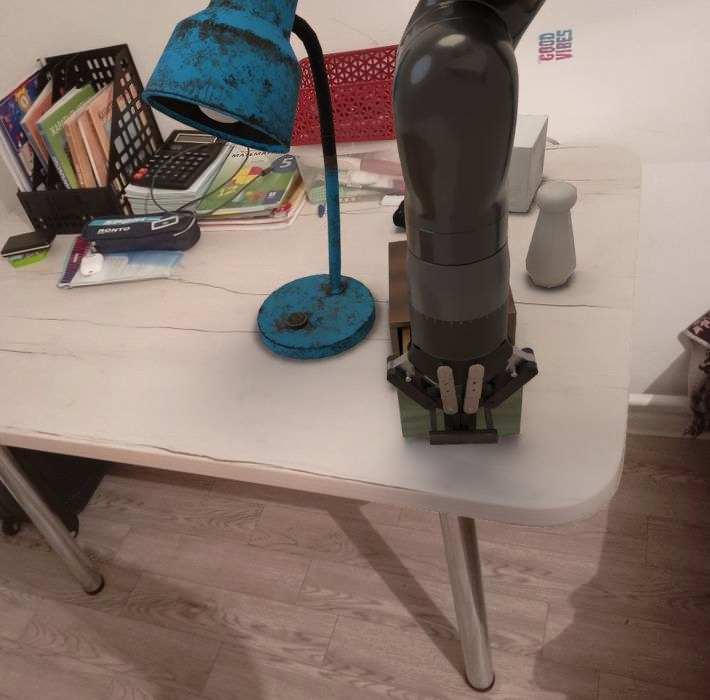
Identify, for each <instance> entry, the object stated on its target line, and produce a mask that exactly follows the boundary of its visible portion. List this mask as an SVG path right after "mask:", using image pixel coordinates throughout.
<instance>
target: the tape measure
mask: <svg viewBox="0 0 710 700" xmlns="http://www.w3.org/2000/svg"><path fill="white" fill-rule="evenodd" d="M392 223H393V225H394V226H395V227H398V228H402V229H406V223H405V212H404V199H402V200H401V201H400V202H399V205H398V207H397V208H396V210H395V211H394V212H393V214H392Z"/></svg>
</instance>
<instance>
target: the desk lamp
mask: <svg viewBox="0 0 710 700" xmlns="http://www.w3.org/2000/svg"><path fill="white" fill-rule="evenodd" d="M298 3H299V0H209V3H208V5H207V6H206V7H205V9H202V10H200V11H198V12H196V13H194V14H192V15H189V16H188V17H185V18H184V19H182V20H180V21H179V22H177V23H176V25H175V27H174V29H173V31H172V33H171V35H170V37H169V39H168V41H167V43H166V45H165V47H164V49H163V51H162V53H161V54H160V57H159V59H158V61H157V63H156V65H155V67H154V68H153V71H152V72H151V74H150V77H149V79H148V81H147V83H146V84H145V87H144V89H143V91H142V93H141V100H142V101H144V103H146V104H147V105H148V106H150V107H151V108H153V109H154V110H155V111H157V112H159V113H161V114H162V115H164V116H166V117H168V118H170V119H171V120H174V121H176V122H179V123H180V124H182V125H184V126H186V127H189V128H191V129H194V130H195V131H198V132H201V133H203V134H206V135H208V136H212V137H214V138H216V139H219V140H222V141H225V142H228V143H231V144H234V145H237V146H241V147H243V148H248V149H250V150H255V151H259V152H262V153H263V152H264V153H268V154H274V155H287V154H288V153H291V145H292V139H293V134H294V129H295V128H294V127H295V123H296V121H295V120H296V116H297V109H298V103H299V97H300V93H301V92H300V91H301V85H302V80H303V68H302V66H301V64H300V61H299V59H298V57H297V55H296V53H295V51H294V49H293V47H292V44H291V36H292V33H293V34H295V36H297V38H298V39H299V40H300V42H302V44H303V47H304V49H305V51H306V54H307V57H308V63H309V68H310V71H311V75H312V81H313V85H314V93H315V99H316V105H317V112H318V113H317V114H318V120H319V130H320V131H319V132H320V140H321V148H322V150H321V151H322V157H323V167H324V180H325V183H324V185H325V202H326V216H327V217H326V219H327V248H328V273H320V274H311V275H306V276H303V277H300V278H296V279H294V280H292V281H289V282H287V283H285V284H283V285H281V286H280V287H278V288H276V289H275V290H273V291H272V292H271V293H270V294H269V295H268V296H267V297H266V298H265V299H264V300H263V302H262V304H261V305H260V307H259V309H258V313H257V317H256V322H257V327H258V331H259V335H260V339H261V340H262V342H263V343H264V345H265V346H266V347H267V348H268V349H269V350H271V351H273V352H274V353H276V354H278V355H280V356H283V357H286V358H290V359H299V360H311V359H312V360H313V359H322V358H326V357H331V356H334V355H337V354H340V353H342V352H344V351H346V350H348V349H351V348H353V347H354V346H355V345H357V343H360V342H361V341H362V340H363V339H364V338H366V336H367V335H368V334H369V333H370V331H371V330H372V328H373V327H374V323H375V321H376V317H377V315H376V311H377V310H376V305H375V303H376V302H375V298H374V296H373V293H372V292H371V290H370V288H369V287H368V286H366V285H365V284H364V283H363V282H362V281H360V280H358V279H355V278H354V277H352V276H347V275H343V274H342V242H341V241H342V238H341V236H342V234H341V233H342V231H341V204H340V184H339V183H340V182H339V181H340V180H339V165H338V155H337V154H338V153H337V142H336V133H335V132H336V131H335V123H334V122H335V121H334V111H333V104H332V103H333V102H332V96H331V89H330V81H329V76H328V70H327V66H326V61H325V57H324V51H323V48H322V45H321V42H320V40H319V37H318V34H317V33H316V31H315V30H314V29H313V27H312V25H310V23H308V21H307V20H306V19H305V18H303V17H302V16H300V15H298V14H297V9H298V8H297V7H298Z"/></svg>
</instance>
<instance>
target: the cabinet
mask: <svg viewBox="0 0 710 700" xmlns="http://www.w3.org/2000/svg"><path fill="white" fill-rule="evenodd" d="M387 243H388V245H387V246H388V247H387V249H388V255H387V258H388V327H389V335H390V343H391V351H392V355H397V356H398V357H400V356H401V355H403V335H402V327H410V326H411V323H410V312H409V300H408V288H407V283H406V259H407V239H405V240H397V241H389V242H387ZM517 314H518V312H517V308H516V304H515V299H514V296H513V291H512V286H511V283H509V306H508V328H507V334H508V335H509V336H510V338H511V340H512V344H511V345H512V346H514V347H516V336H517V334H516V333H517Z"/></svg>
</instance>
